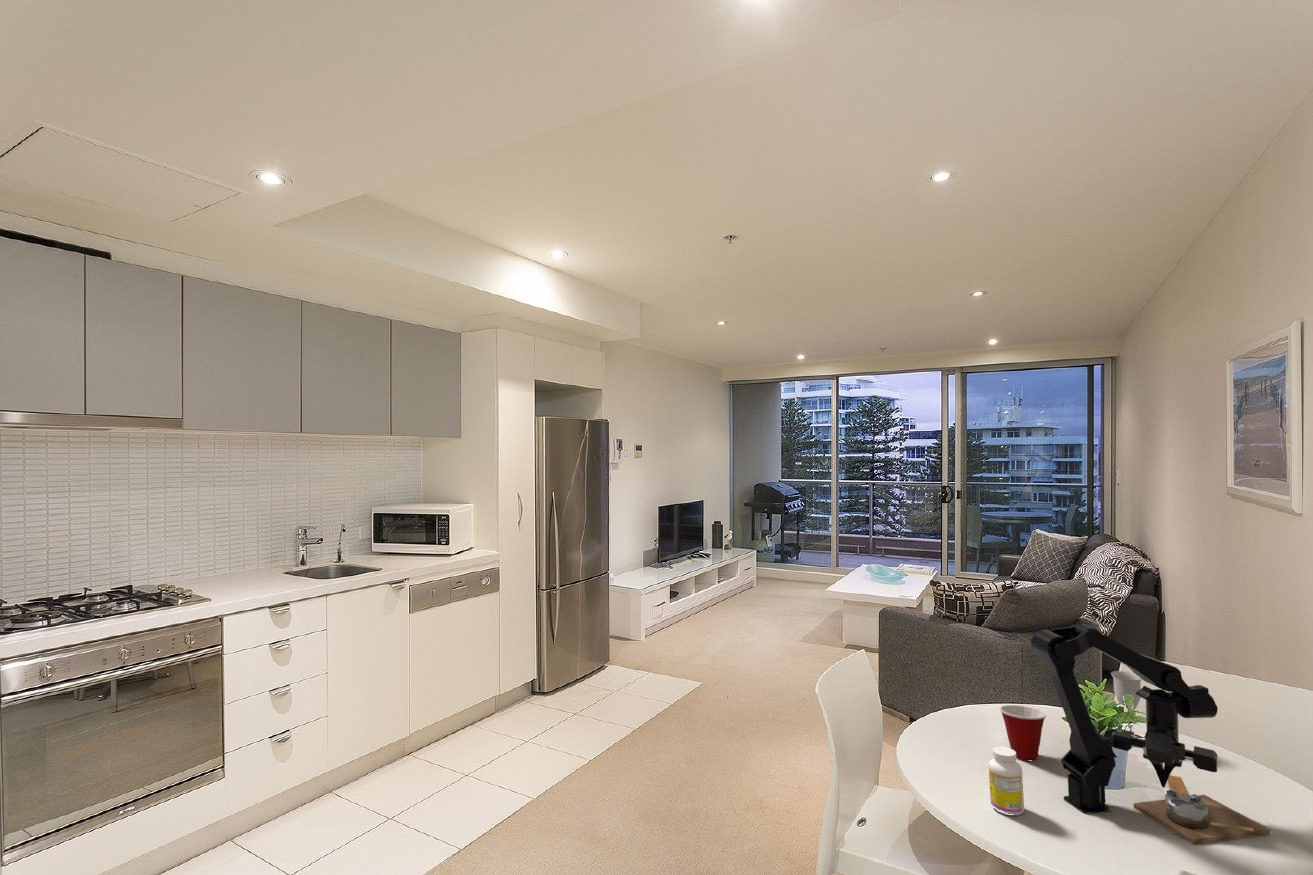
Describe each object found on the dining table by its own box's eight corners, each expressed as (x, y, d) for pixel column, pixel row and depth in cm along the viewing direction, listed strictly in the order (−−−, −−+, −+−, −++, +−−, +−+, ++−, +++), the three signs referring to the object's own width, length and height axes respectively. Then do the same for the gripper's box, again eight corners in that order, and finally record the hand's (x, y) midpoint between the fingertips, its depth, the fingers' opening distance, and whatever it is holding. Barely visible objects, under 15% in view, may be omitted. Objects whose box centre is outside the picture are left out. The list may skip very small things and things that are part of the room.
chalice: (1107, 738, 180) (1104, 671, 180) (1131, 736, 181) (1127, 670, 181) (1129, 749, 173) (1125, 680, 173) (1153, 747, 173) (1149, 679, 174)
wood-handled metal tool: (1212, 831, 133) (1211, 810, 133) (1169, 823, 137) (1168, 802, 137) (1194, 795, 147) (1193, 776, 147) (1155, 789, 150) (1154, 770, 150)
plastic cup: (1049, 752, 173) (1047, 706, 173) (1048, 769, 164) (1045, 720, 164) (1003, 743, 179) (1000, 699, 179) (999, 759, 170) (997, 713, 170)
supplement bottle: (996, 798, 151) (993, 741, 152) (1028, 808, 146) (1025, 750, 147) (986, 809, 147) (983, 751, 147) (1018, 820, 142) (1015, 760, 142)
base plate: (1193, 844, 131) (1193, 839, 131) (1133, 807, 145) (1133, 802, 145) (1270, 834, 134) (1270, 829, 134) (1204, 799, 148) (1204, 794, 148)
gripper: (1106, 718, 148) (1108, 787, 148) (1215, 742, 135) (1217, 818, 135) (1113, 703, 156) (1115, 768, 156) (1216, 724, 144) (1218, 795, 144)
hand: (1163, 787), depth 148 cm, fingers closed
